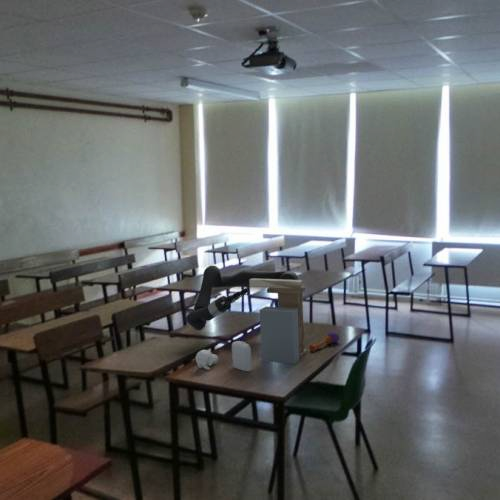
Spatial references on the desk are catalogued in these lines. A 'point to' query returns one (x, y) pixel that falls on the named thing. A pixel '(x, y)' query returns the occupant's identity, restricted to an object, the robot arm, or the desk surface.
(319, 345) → the kendama
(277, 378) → the desk surface
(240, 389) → the desk surface
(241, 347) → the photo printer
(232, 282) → the robot arm
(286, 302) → the tan tall block
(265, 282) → the wooden batten
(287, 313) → the grey block
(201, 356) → the white rabbit figurine
